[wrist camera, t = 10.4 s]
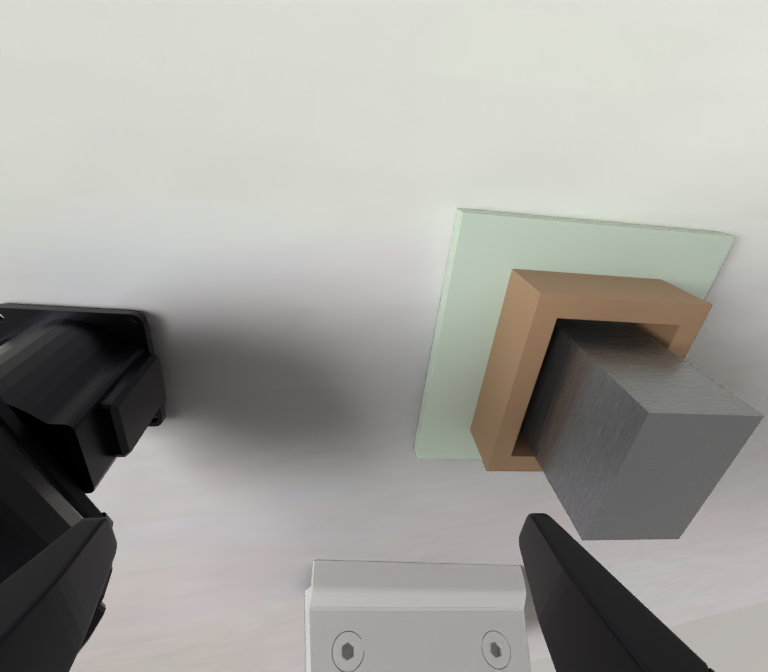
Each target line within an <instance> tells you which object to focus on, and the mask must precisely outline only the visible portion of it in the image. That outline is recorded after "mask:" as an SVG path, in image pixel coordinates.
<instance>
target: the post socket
mask: <svg viewBox="0 0 768 672" xmlns="http://www.w3.org/2000/svg"><path fill="white" fill-rule="evenodd" d="M735 238H736V237H734V236H731V235H727V234H724V233H720V232H714V231H703V230H692V229H681V228H670V227H659V226H648V225H637V224H626V223H615V222H604V221H593V220H583V219H572V218H561V217H550V216H539V215H528V214H517V213H506V212H495V211H484V210H473V209H462V208H457V211H456V217H455V222H454V228H453V233H452V239H451V244H450V250H449V256H448V261H447V267H446V272H445V278H444V283H443V289H442V294H441V300H440V305H439V311H438V317H437V322H436V328H435V333H434V339H433V344H432V350H431V355H430V361H429V366H428V372H427V378H426V383H425V389H424V394H423V400H422V405H421V411H420V416H419V422H418V427H417V433H416V439H415V444H414V449H415V454H416V458H417V459H454V460H482V461H483V463H484V466H485V468H486V470H487V471H543V470H542V469H541V467H540V465H539V463H538V462H537V460H536V458H535V456H534V455H533V453H532V451H531V449H530V448H529V446H528V444H527V442H526V441H525V439H524V437H523V435H522V434H521V432H520V427H521V424H522V421H523V418H524V415H525V412H526V410H527V407H528V404H529V401H530V398H531V395H532V392H533V389H534V386H535V383H536V380H537V377H538V374H539V371H540V368H541V365H542V362H543V359H544V356H545V353H546V350H547V347H548V344H549V341H550V338H551V335H552V332H553V329H554V326H555V323H556V320H557V318H563V319H581V320H598V321H616V322H630V323H631V324H633V325H634V326H636V327H637V328H638V329H640V330H641V331H643V332H644V333H646V334H647V335H648V336H650V337H651V338H653V339H654V340H656V341H657V342H658V343H660V344H661V345H663V346H664V347H666V348H667V349H668V350H670V351H671V352H673V353H674V354H676V355H677V356H678V357H680V358H681V359H683V360H684V358H685V356H686V354H687V352H688V350H689V348H690V347H691V345H692V343H693V341H694V339H695V337H696V335H697V333H698V331H699V329H700V328H701V326H702V324H703V322H704V320H705V318H706V316H707V314H708V312H709V310H710V309H711V307H712V304H710V303H708V302H706V301H704V299H705V297H706V295H707V293H708V291H709V289H710V287H711V285H712V283H713V281H714V279H715V277H716V275H717V273H718V272H719V270H720V268H721V266H722V264H723V262H724V260H725V258H726V256H727V254H728V252H729V250H730V248H731V246H732V244H733V242H734V240H735Z"/></svg>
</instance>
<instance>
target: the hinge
mask: <svg viewBox="0 0 768 672" xmlns="http://www.w3.org/2000/svg"><path fill="white" fill-rule="evenodd" d="M525 600H526V586H525V582H524V577H523V573H522V568H521V566H519V565H482V564H444V563H407V562H370V561H332V560H314V563H313V568H312V580H311V587H309V588H308V589H307V590H306V591H305V595H304V634H305V672H531V667H530V657H529V649H528V640H527V631H526V622H525V613H524V607H525Z"/></svg>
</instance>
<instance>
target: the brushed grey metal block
mask: <svg viewBox="0 0 768 672" xmlns="http://www.w3.org/2000/svg"><path fill="white" fill-rule="evenodd" d="M763 417H764V416H763V415H762V414H760V413H759V412H757V411H756V410H754V409H753V408H752V407H750V406H749V405H747V404H746V403H744V402H743V401H742V400H740V399H739V398H737V397H736V396H734V395H733V394H732V393H730V392H729V391H727V390H726V389H724V388H723V387H721V386H720V385H719V384H717V383H716V382H714V381H713V380H711V379H710V378H709V377H707V376H706V375H704V374H703V373H701V372H700V371H699V370H697V369H696V368H694V367H693V366H691V365H690V364H689V363H687V362H686V361H684V360H683V359H681V358H680V357H678V356H677V355H676V354H674V353H673V352H671V351H670V350H668V349H667V348H666V347H664V346H663V345H661V344H660V343H658V342H657V341H656V340H654V339H653V338H651V337H650V336H648V335H647V334H646V333H644V332H643V331H641V330H640V329H638V328H637V327H636V326H634V325H633V324H631V323H630V322H616V321H598V320H581V319H563V318H557V320H556V323H555V326H554V329H553V332H552V335H551V338H550V341H549V344H548V347H547V350H546V353H545V356H544V359H543V362H542V365H541V368H540V371H539V374H538V377H537V380H536V383H535V386H534V389H533V392H532V395H531V398H530V401H529V404H528V407H527V410H526V412H525V415H524V418H523V421H522V424H521V427H520V432H521V434H522V435H523V437H524V439H525V441H526V442H527V444H528V446H529V448H530V449H531V451H532V453H533V455H534V456H535V458H536V460H537V462H538V463H539V465H540V467H541V469H542V470H543V472H544V474H545V476H546V477H547V479H548V481H549V483H550V484H551V486H552V488H553V490H554V491H555V493H556V495H557V497H558V498H559V500H560V502H561V504H562V505H563V507H564V509H565V511H566V512H567V514H568V516H569V518H570V519H571V521H572V523H573V525H574V526H575V528H576V530H577V532H578V533H579V535H580V537H581V539H582V540H638V539H679V538H680V536H681V535H682V534H683V532H684V531H685V529H686V528H687V526H688V525H689V523H690V522H691V521H692V519H693V518H694V516H695V515H696V513H697V512H698V510H699V509H700V508H701V506H702V505H703V503H704V502H705V500H706V499H707V497H708V496H709V495H710V493H711V492H712V490H713V489H714V487H715V486H716V484H717V483H718V482H719V480H720V479H721V477H722V476H723V474H724V473H725V472H726V470H727V469H728V467H729V466H730V464H731V463H732V461H733V460H734V459H735V457H736V456H737V454H738V453H739V451H740V450H741V448H742V447H743V446H744V444H745V443H746V441H747V440H748V438H749V437H750V435H751V434H752V433H753V431H754V430H755V428H756V427H757V425H758V424H759V422H760V421H761V420H762V418H763Z"/></svg>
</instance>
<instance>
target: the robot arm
mask: <svg viewBox="0 0 768 672" xmlns="http://www.w3.org/2000/svg"><path fill="white" fill-rule="evenodd" d="M0 314H1V315H3V317H4V318H5V319H4V318H2V317H1V316H0V672H69V670H70V668H71V666H72V664H73V662H74V660H75V658H76V656H77V654H78V653H79V651H80V650H81V649H82V648H83V646H84V645H85V644H86V643H87V641H88V640H89V638H90V637H91V635H92V633H93V632H94V630H95V628H96V627H97V625H98V623H99V622H100V620H101V618H102V616H103V615H104V612H105V609H106V607H105V604H104V603H103V602H102V600H103V598H104V595H105V592H106V588H107V585H108V582H109V579H110V576H111V573H112V562H113V559H114V557H115V554H116V549H117V542H116V538H115V535H114V532H113V529H112V526H113V521H112V520H111V518H110V517H109V516H108V515H107V514H106V513H105V512H104V513H101V512H100V510H99V509H98V508H97V507H96V506H95V505H94V504H93V502H92V501H91V500H90V499H89V498H88V497H87V496H86V494H85V493H92V492H93V491H94V490H95V489H96V487H97V486H98V484H99V483H100V481H101V480H102V478H103V477H104V475H105V474H106V472H107V471H108V470H109V468H110V467H111V465H112V464H113V462H114V461H115V459H116V458H117V457H126V456H127V455H128V454H129V453H130V452H131V451H132V450H133V448H134V447H135V445H136V444H137V442H138V440H139V439H140V437H141V436H142V434H143V433H144V431H145V430H146V428H147V427H148V426H159V425H161V423H162V422H163V420H164V419H165V417H166V413H165V408H164V403H163V402H164V400H165V399H166V394H165V388H164V383H163V378H162V372H161V367H160V362H159V358H158V356H157V355H156V354H155V353H154V351H153V346H152V341H151V336H150V330H149V325H148V321H147V318H146V317H145V316H144V314H142V313H140V312H138V311H132V310H113V309H94V308H75V307H55V306H36V305H17V304H0ZM130 319H133V320H135V321H136V322H137V323H138V325H134V324H133V323H131V321H130ZM154 416H156V417H157V418H155V417H154ZM519 546H520V551H521V555H522V558H523V562H524V566H525V570H526V574H527V578H528V582H529V586H530V590H531V594H532V598H533V602H534V606H535V610H536V613H537V617H538V620H539V623H540V627H541V630H542V633H543V635H544V638H545V641H546V644H547V647H548V650H549V652H550V655H551V658H552V661H553V664H554V667H555V669H556V672H714V670H712V669H711V668H708V666H707V664H706V663H705V662H704V661H703V660H701V658H699V657H698V656H697V655H696V654H695V653H694V652H693V651H692V650H691V649H690V648H689V647H688V646H687V645H686V644H685V643H684V642H683V641H681V640H680V639H679V638H678V637H677V636H676V635H675V634H674V633H673V632H672V631H671V630H670V629H669V628H668V627H667V626H666V625H665V624H664V623H662V622H661V621H660V620H659V619H658V618H657V617H656V616H655V615H654V614H653V613H652V612H651V611H650V610H649V609H648V608H647V607H645V606H644V605H643V604H642V603H641V602H640V601H639V600H638V599H637V598H636V597H635V596H634V595H633V594H632V593H631V592H630V591H629V590H627V589H626V588H625V587H624V586H623V585H622V584H621V583H620V582H619V581H618V580H617V579H616V578H615V577H614V576H613V575H612V574H611V573H609V572H608V571H607V570H606V569H605V568H604V567H603V566H602V565H601V564H600V563H599V562H598V561H597V560H596V559H595V558H594V557H592V556H591V555H590V554H589V553H588V552H587V551H586V550H585V549H584V548H583V547H582V546H581V545H580V544H579V543H578V542H577V541H576V540H574V539H573V538H572V537H571V536H570V535H569V534H568V533H567V532H566V531H565V530H564V529H563V528H562V527H561V526H560V525H559V524H558V523H556V522H555V521H554V520H553V519H552V518H551V517H550V516H549V515H547V514H544V513H531V514H529V515H528V516H527V518H526V520H525V523H524V525H523V528H522V530H521V533H520V536H519Z"/></svg>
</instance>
